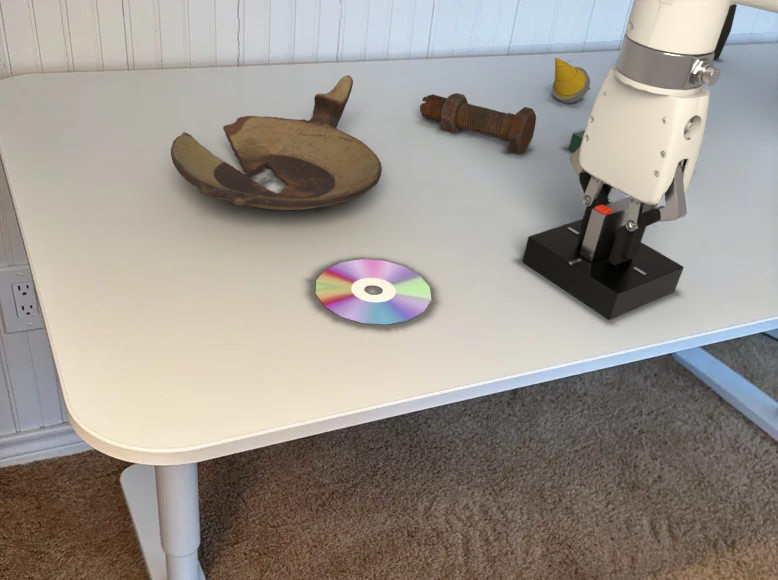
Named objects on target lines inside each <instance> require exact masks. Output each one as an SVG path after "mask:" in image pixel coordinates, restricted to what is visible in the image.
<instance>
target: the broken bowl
mask: <svg viewBox="0 0 778 580" xmlns="http://www.w3.org/2000/svg"><path fill="white" fill-rule="evenodd" d="M353 85H354V80H353V77H352V75H349V74H347V75H344V76H342V77H341V78H340V79H339V81H338V82H337V83H336V85H335V86H334V87H333V88H332V89H331V90H330V91H328V92H326V93H317V94H315V95H314V98H313V100H314V105H313V110H312V116H311V118H310V119H309V120H306V119H297V118H296V119H294V118H284V117H278V116H261V115H245V116H240V117H237V118H236V120H235V121H234V122H233V123H231V124H226V125H223V128H222V129H223V132H224V133H225V137H226V140H227V141H228V142H229V145H230V147H231V150H232V151H233V153H234V156H235V158H236V159H237V161H238V163H239V166H240V167H241V168H242V170H243V172H244V173H242V171H241V170H239V169H237V168H235V167H234V166H233V165H231V164H230V163H227V162H226V161H224V160H222V159H221V158H220V157H218V156H216V155H214V154H212V153H211V151H210V150H209V149H208V148H206V147H205V146H204V145H202V144H201V143H199V142H198V140H197V139H195V138H194V136H192V135H191V134H189V133H188V132H186V131H183V132H182V133H181V135H178V136H176V138H175V139H174V140H173V142H172V144H171V147H170V158H171V161H172V164H173V166H174V168H175V169H176V170H177V172H178V174H180V175H181V177H182V178H183V179H184V180H186V181H187V182H188V183H189V184H191V185H193V186H194V187H196V188H197V189H198V191H199V193H200V194H201V195H202V196H205V197H207V198H214V199H219V200H223V201H228V202H230V203H232V204H234V205H236V206H248V207H254V208H257V209H258V208H259V209H264V210H271V211H272V210H275V211H276V210H277V211H298V210H308V209H315V208H323V207H326V206H332V205H337V204H340V203H343V202H347V201H350V200H354V199H356V198H358V197H360V196H362V195H364V194H366V193H367V192H368V191H370V190H372V188H374V187H375V186H377V184H378V183H379V181H380V179H381V176H382V169H383V167H382V162H381V160H380V158H379V157H378V155H377V154H376V153H375V152H374V151H373V150H372V149H371V148H370V147H369V146H368V145H367V144H365V142H363V141H362V140H360V139H358V138H357V137H355V136H353V135H350V134H349V133H346V132H344V131H342V130H340V129H338V125H339V122H340V121H341V118H342V116H343V113H344V111H345V109H346V105H347V104H348V101H349V99H350V96H351V92H352V89H353ZM266 167H268V168H270V170H271V171H272V173H273V174H274V175H275V176H276V177H277V178H278V179H280V180H281V181H282V182H283V183H285V184H286V186H285V187H284V188H283V190H282V191H281V192H275V191H272V190H271V189H269V188H268V187H266V186H263V184H264V183H265V182H267V181H268V180H270V178H266V179H265V180H264V181H263V182H262V183H261V184H262V185H261V184H259V183H258V182H257V181H255V180H253V179H252V178H251V177H250V176H252V175H257V174H258V173H260V172H263V171H264V169H265V168H266Z"/></svg>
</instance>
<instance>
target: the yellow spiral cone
mask: <svg viewBox="0 0 778 580" xmlns="http://www.w3.org/2000/svg"><path fill="white" fill-rule="evenodd" d="M590 85H591V79H590V75H589V74H588V72H587V71H586V69H584V68H583V67H580V66H573V65H572V64H570V63H568V62H566V61H564V60H563V59H560V58H558V57H554V81H553V84H552V89H551V91H552V94H553V96H554V98H555V99H556V100H557V101H558V102H559V103H561V104H564V105H565V104H566V105H568V104H573V103H577V102H578V101H580V100H581V99H582V98H583V97H585V95H586V94H587V93H588V91H590V90H591V87H590Z"/></svg>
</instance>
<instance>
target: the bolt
mask: <svg viewBox="0 0 778 580" xmlns="http://www.w3.org/2000/svg"><path fill="white" fill-rule="evenodd" d="M422 102H423V103H421V104H420V105H419V112H420V113H421V116H422V118H424V119H427V120H430V121H433V122H438V123H440V126H441V128H442V129H443V131H444V132H447V133H450V134H454V133H457V132H459V131H460V130H461V129H462V130H465V131H470V132H474V133H477V134H481V135H485V136H488V137H493V138H496V139H498V140H501V141H503V142H506V143H508V152H509V153H510V154H513V155H521V154H523V153H525V152H526V150H527V149H528V147H529V146H530V144H531V142H532V140H533V137H534V133H535V129H536V123H537V115H536V112H535V110H534V109H533V108H531V107H527V106H524V107H522V108H521V109H520V110H518V111H516V113H511V112H507V113H506V112H503V111H499V110H496V109H491V108H487V107H484V106H480V105H475V104H471V103H469V102H468V98H467V97H466V95H465V94H462V93H458V92H456V93H452V94H449V95H448V96H447V97H446V96H441V95H436V94H433V93H432V94H428V95H427V96H423V97H422Z"/></svg>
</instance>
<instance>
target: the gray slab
mask: <svg viewBox="0 0 778 580" xmlns="http://www.w3.org/2000/svg"><path fill="white" fill-rule="evenodd" d="M629 202H630V196H628V197H624V198H622V199H621V198H620V199H619V200H616V201H613V202H611V203H609V204H606V205H603V204H602V205H599V206H596V207H595V208H593V209H592V212H591V216H590V219H589V223H588V226H587V230H586V233H585V237H584V240H583V244H582V247H581V251H580V255H581V256H583V257H584V258H586V259H587V260H589V261H591V262H592V261H595V260H598V259H600V258H603V257H606V256H608V255H610V254H611V250H612V247H613V244H614V241H615V238H616V234H617V231H618V229H619V227H621V226H624V225H626V218H627V213H628V208H629Z"/></svg>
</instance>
